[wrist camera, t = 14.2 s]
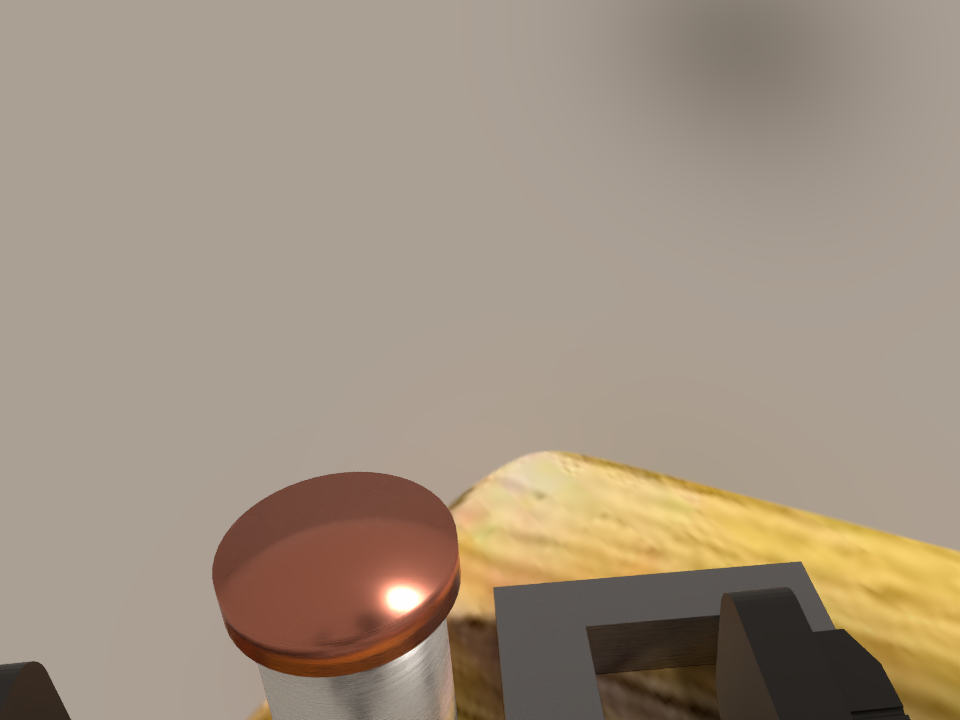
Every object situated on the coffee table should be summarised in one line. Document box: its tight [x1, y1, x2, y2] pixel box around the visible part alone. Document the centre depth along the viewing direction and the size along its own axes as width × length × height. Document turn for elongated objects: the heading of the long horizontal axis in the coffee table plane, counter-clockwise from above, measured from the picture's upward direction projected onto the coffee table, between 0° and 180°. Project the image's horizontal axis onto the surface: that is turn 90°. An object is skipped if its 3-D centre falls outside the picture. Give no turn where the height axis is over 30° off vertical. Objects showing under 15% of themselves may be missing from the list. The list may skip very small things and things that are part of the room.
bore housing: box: [494, 562, 836, 720], centre depth 37 cm, size 14×12×3 cm
